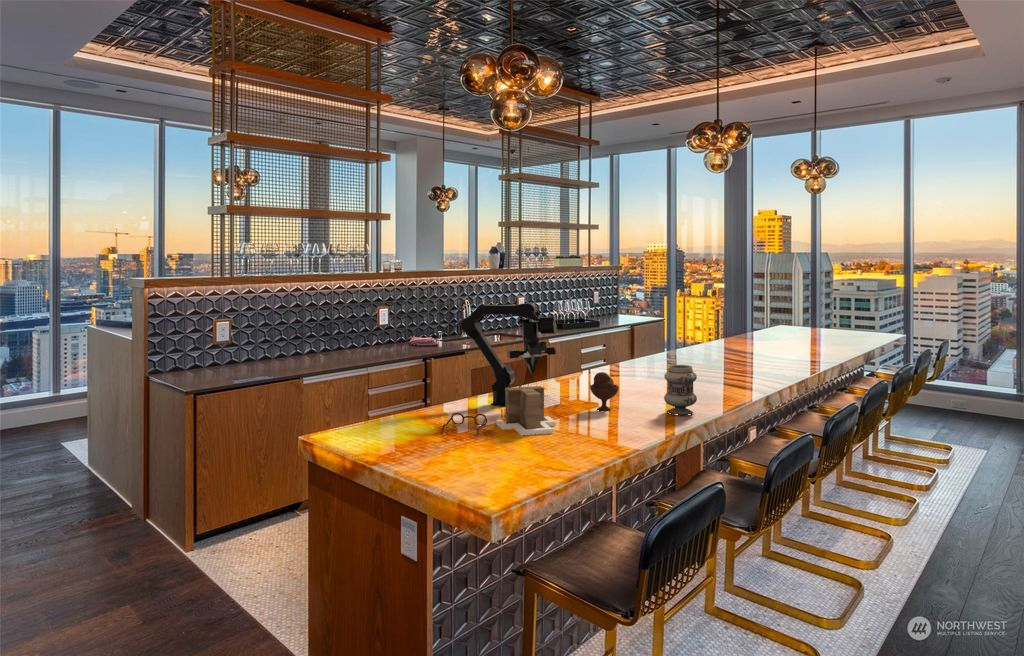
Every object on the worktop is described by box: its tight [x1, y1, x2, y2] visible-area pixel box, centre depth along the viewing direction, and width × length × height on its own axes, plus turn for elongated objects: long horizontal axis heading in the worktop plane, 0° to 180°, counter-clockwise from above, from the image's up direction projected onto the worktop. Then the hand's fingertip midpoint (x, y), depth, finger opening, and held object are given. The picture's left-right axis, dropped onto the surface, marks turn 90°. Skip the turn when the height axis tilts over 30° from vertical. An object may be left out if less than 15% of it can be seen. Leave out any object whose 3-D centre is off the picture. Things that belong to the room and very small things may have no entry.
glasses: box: [440, 412, 488, 436], centre depth 224 cm, size 13×13×5 cm
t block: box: [505, 385, 545, 429], centre depth 226 cm, size 13×13×13 cm
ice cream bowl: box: [589, 371, 620, 412], centre depth 251 cm, size 11×11×15 cm
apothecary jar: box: [663, 364, 698, 415], centre depth 245 cm, size 12×12×18 cm
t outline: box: [495, 415, 557, 437], centre depth 226 cm, size 17×19×2 cm
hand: (532, 373), depth 258 cm, fingers closed
